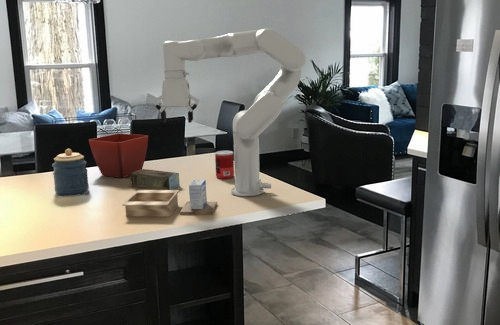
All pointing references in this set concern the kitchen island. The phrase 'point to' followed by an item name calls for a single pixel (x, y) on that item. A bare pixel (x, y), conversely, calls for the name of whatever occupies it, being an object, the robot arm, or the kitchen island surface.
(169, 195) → the wooden tray
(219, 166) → the canned food
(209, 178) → the kitchen island surface
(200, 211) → the walnut board
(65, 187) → the canister
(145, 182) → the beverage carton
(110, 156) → the plant pot
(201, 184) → the medicine box
